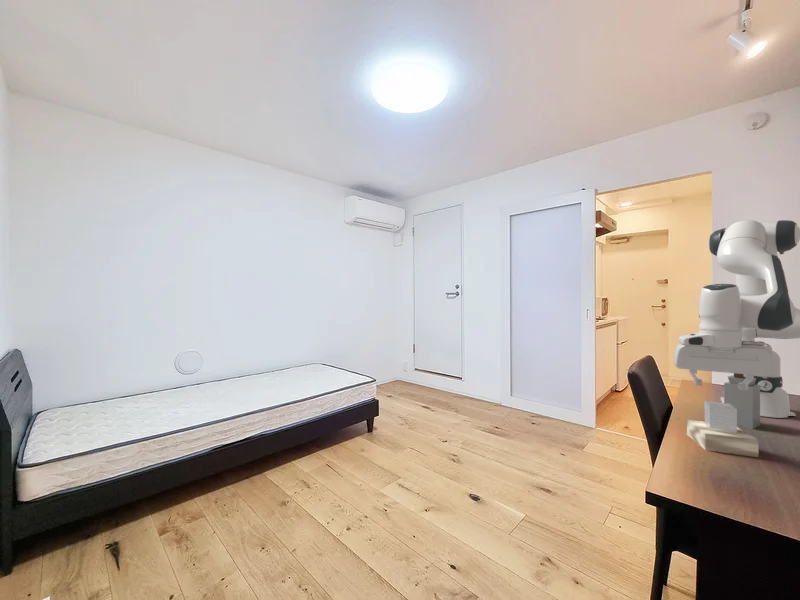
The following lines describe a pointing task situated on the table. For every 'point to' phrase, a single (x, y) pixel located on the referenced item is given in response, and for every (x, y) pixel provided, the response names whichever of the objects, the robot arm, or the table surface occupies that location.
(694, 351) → the robot arm
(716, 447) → the cream square dish
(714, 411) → the grey block
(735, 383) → the perfume bottle
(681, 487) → the table surface
